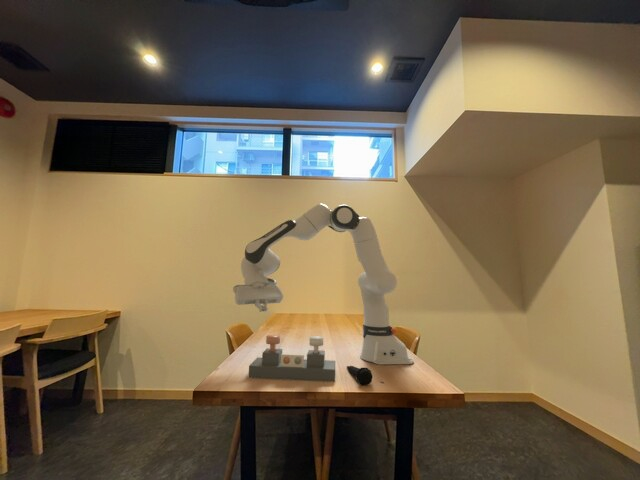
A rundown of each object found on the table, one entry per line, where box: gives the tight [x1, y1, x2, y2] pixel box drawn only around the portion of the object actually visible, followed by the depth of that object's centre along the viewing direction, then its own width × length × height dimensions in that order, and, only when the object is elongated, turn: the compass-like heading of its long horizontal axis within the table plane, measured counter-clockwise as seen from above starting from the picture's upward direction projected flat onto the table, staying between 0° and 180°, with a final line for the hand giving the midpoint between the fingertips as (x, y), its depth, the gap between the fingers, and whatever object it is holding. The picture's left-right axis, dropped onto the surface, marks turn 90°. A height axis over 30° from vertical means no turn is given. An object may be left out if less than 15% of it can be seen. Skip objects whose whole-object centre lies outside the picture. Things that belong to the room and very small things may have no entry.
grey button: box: [309, 335, 324, 354], centre depth 100 cm, size 5×5×6 cm
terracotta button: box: [265, 334, 281, 352], centre depth 101 cm, size 5×5×6 cm
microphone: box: [346, 365, 373, 386], centre depth 99 cm, size 6×6×20 cm
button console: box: [247, 347, 336, 383], centre depth 100 cm, size 30×10×8 cm, turn 86°
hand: (263, 310), depth 111 cm, fingers closed
